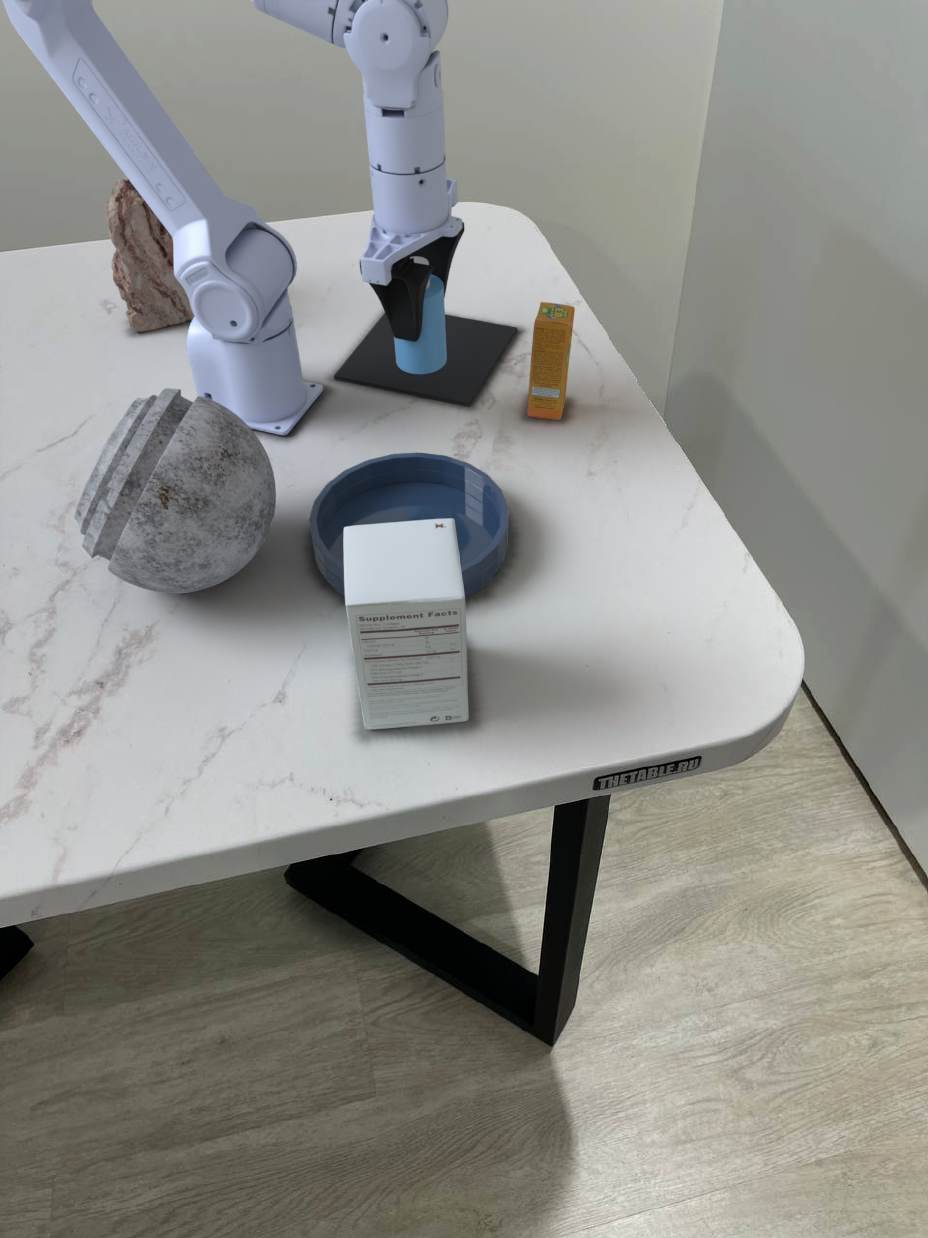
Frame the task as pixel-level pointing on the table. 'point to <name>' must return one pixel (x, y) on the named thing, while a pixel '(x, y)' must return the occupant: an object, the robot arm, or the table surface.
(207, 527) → the decorative orb
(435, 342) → the bottle
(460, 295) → the table surface
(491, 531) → the bowl
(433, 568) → the white packaging box
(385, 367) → the mat
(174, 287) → the stone
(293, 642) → the table surface
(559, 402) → the supplement box
